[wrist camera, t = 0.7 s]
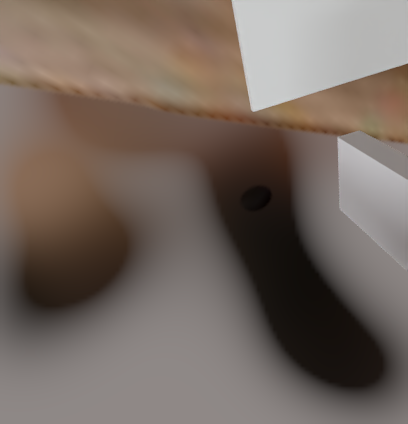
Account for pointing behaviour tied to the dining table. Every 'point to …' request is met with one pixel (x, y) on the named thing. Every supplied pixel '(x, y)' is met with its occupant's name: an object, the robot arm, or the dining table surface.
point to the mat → (316, 44)
